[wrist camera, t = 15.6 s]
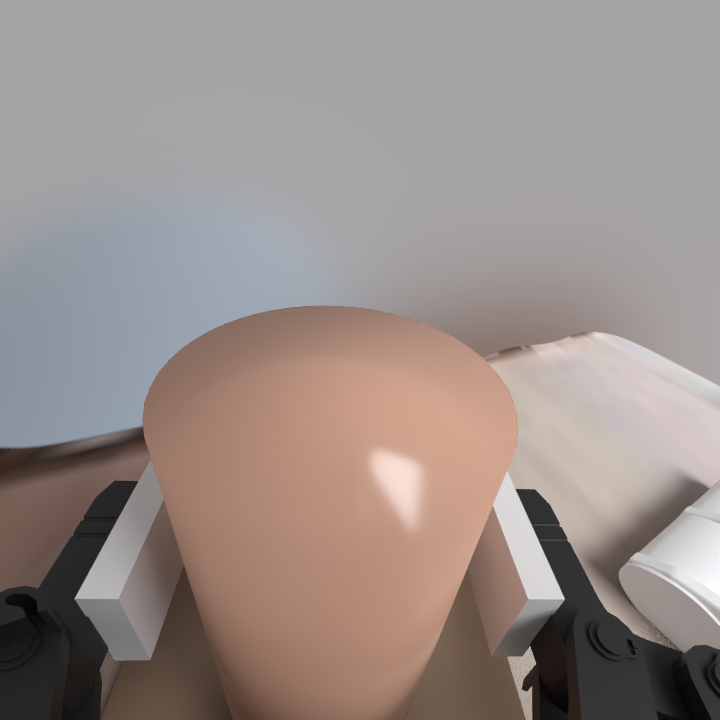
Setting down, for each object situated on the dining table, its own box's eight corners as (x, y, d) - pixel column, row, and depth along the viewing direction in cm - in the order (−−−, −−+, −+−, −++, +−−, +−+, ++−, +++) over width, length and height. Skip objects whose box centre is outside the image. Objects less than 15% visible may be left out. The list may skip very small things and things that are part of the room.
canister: (396, 589, 16) (462, 312, 9) (420, 801, 11) (600, 545, 4) (252, 589, 16) (209, 299, 9) (211, 809, 11) (40, 540, 4)
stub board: (460, 516, 20) (463, 509, 20) (618, 1068, 9) (631, 1073, 8) (146, 510, 19) (143, 503, 19) (-162, 1144, 7) (-182, 1151, 7)
